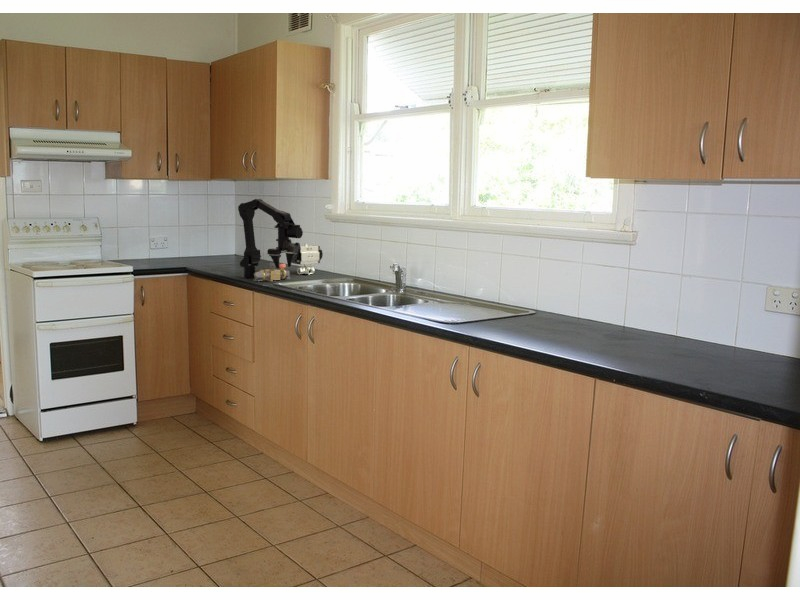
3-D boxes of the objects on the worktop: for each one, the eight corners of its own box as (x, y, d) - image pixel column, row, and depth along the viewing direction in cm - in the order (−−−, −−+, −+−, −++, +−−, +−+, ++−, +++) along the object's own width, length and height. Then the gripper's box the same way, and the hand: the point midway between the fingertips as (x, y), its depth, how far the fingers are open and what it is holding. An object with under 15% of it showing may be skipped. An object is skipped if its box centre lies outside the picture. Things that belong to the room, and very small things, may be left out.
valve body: (259, 282, 368) (259, 270, 368) (252, 281, 373) (252, 269, 372) (291, 279, 383) (291, 268, 382) (284, 278, 387) (284, 267, 386)
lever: (267, 269, 376) (267, 262, 376) (274, 268, 379) (274, 261, 379) (280, 271, 368) (280, 264, 368) (287, 271, 371) (287, 263, 371)
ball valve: (297, 276, 395) (297, 244, 392) (288, 275, 401) (288, 243, 398) (324, 274, 406) (324, 243, 404) (315, 273, 413) (315, 242, 410)
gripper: (283, 239, 358) (283, 270, 360) (307, 237, 374) (307, 267, 376) (266, 237, 364) (266, 268, 366) (290, 236, 379) (290, 265, 382)
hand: (283, 267), depth 372 cm, fingers open, 9 cm apart
